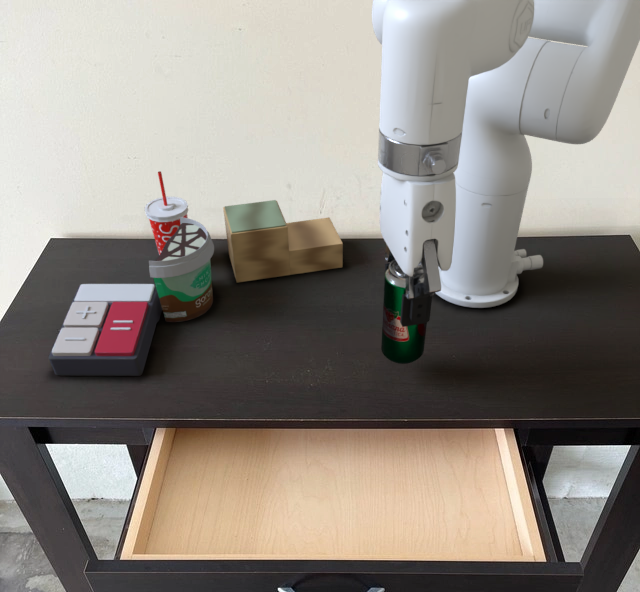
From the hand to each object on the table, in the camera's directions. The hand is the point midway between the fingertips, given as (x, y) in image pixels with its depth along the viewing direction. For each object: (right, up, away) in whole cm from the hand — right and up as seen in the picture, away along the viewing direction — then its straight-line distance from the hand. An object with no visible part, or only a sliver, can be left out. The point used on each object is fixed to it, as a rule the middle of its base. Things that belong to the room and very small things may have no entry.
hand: (406, 306), depth 74 cm
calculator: (-37, -2, +13) cm, 40 cm away
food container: (-27, +3, +19) cm, 33 cm away
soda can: (0, -5, +5) cm, 7 cm away
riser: (-15, +12, +26) cm, 32 cm away
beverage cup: (-31, +11, +26) cm, 43 cm away
